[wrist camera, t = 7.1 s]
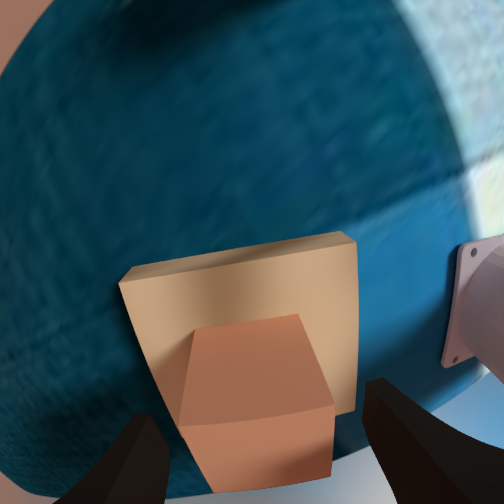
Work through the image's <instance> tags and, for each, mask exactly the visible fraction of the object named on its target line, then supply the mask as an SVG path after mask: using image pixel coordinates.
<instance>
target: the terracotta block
mask: <svg viewBox="0 0 504 504" xmlns="http://www.w3.org/2000/svg"><path fill="white" fill-rule="evenodd" d="M334 425H335V402H334V399H333V397H332V394H331V392H330V389H329V387H328V384H327V382H326V380H325V377H324V375H323V372H322V370H321V367H320V365H319V362H318V360H317V358H316V355H315V353H314V350H313V348H312V345H311V343H310V341H309V338H308V336H307V333H306V331H305V329H304V326H303V324H302V321H301V319H300V317H299V314H298V313H297V314H291V315H286V316H280V317H274V318H268V319H262V320H256V321H250V322H243V323H236V324H229V325H222V326H215V327H208V328H200V329H195V333H194V338H193V343H192V349H191V354H190V359H189V365H188V370H187V376H186V382H185V387H184V393H183V399H182V405H181V411H180V417H179V424H178V427H179V429H180V431H181V433H182V435H183V437H184V439H185V441H186V443H187V445H188V447H189V449H190V451H191V453H192V455H193V457H194V459H195V460H196V462H197V464H198V466H199V468H200V470H201V471H202V473H203V475H204V477H205V478H206V480H207V482H208V484H209V485H210V487H211V489H212V490H213V492H214V493H220V492H235V491H247V490H257V489H265V488H272V487H278V486H286V485H292V484H297V483H302V482H307V481H312V480H317V479H321V478H326V477H330V476H331V467H332V456H333V442H334Z"/></svg>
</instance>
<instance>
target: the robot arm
mask: <svg viewBox="0 0 504 504" xmlns="http://www.w3.org/2000/svg"><path fill="white" fill-rule="evenodd" d="M472 249H473V250H472ZM471 251H472V253H471ZM473 356H476V357H477V358H478V359H479V360H480V361H481V362H482V363H483V364H484V365H485V366H486V367H487V368H488V369H489V370H490V371H491V372H492V373H493V374H494V375H495V376H496V377H497V378H498V379H499V380H500V381H501V382H502V383H503V384H504V234H502V235H497V236H493V237H489V238H485V239H480V240H476V241H471V242H467V243H464V244H462V245H461V246H460V247H459V249H458V253H457V265H456V276H455V285H454V293H453V300H452V307H451V314H450V320H449V325H448V331H447V336H446V341H445V346H444V350H443V355H442V359H441V365H442V366H443V367H444V368H449V367H451V366H453V365H456V364H458V363H460V362H462V361H465V360H467V359H469V358H471V357H473ZM362 423H363V426H364V429H365V432H366V435H367V438H368V441H369V443H370V446H371V448H372V450H373V452H374V454H375V456H376V458H377V460H378V462H379V464H380V466H381V468H382V470H383V472H384V474H385V476H386V478H387V480H388V482H389V485H390V486H391V489H392V491H393V493H394V496H395V498H396V501H397V504H504V449H501V448H498V447H495V446H492V445H489V444H486V443H484V442H481V441H479V440H476V439H474V438H472V437H470V436H468V435H465V434H464V433H462V432H460V431H458V430H456V429H454V428H453V427H451V426H449V425H448V424H446V423H444V422H443V421H441V420H439V419H438V418H436V417H435V416H433V415H432V414H431V413H429V412H428V411H426V410H425V409H423V408H422V407H421V406H419V405H418V404H416V403H415V402H414V401H412V400H411V399H410V398H409V397H407V396H406V395H405V394H403V393H402V392H401V391H400V390H398V389H397V388H396V387H395V386H393V385H392V384H391V383H390V382H388V381H387V380H386V379H384V378H379V379H376V380H373V381H369V382H366V390H365V399H364V408H363V415H362ZM169 467H170V448H169V446H168V444H167V442H166V441H165V439H164V437H163V435H162V434H161V432H160V430H159V428H158V426H157V424H156V423H155V421H154V419H153V417H152V415H151V414H135V415H134V416H133V417H132V419H131V420H130V421H129V422H128V424H127V425H126V426H125V428H124V429H123V430H122V431H121V433H120V434H119V435H118V437H117V438H116V439H115V441H114V442H113V443H112V444H111V446H110V447H109V448H108V449H107V451H106V452H105V453H104V454H103V456H102V457H101V458H100V459H99V460H98V462H97V463H96V464H95V465H94V466H93V467H92V468H91V469H90V471H89V472H88V473H87V474H86V475H85V476H84V477H83V478H82V479H81V480H80V481H79V482H78V483H77V484H76V485H75V486H74V487H73V488H72V489H70V490H69V491H68V492H67V493H66V494H65V495H63V496H62V497H61V498H60V499H58V500H57V501H56V502H54V503H53V504H164V502H165V496H166V490H167V484H168V478H169Z"/></svg>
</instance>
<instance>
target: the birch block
mask: <svg viewBox="0 0 504 504" xmlns="http://www.w3.org/2000/svg"><path fill="white" fill-rule="evenodd" d="M119 286H120V289H121V293H122V296H123V299H124V302H125V305H126V308H127V310H128V313H129V316H130V319H131V322H132V325H133V327H134V330H135V333H136V335H137V338H138V341H139V343H140V346H141V348H142V351H143V353H144V356H145V358H146V361H147V363H148V366H149V368H150V370H151V373H152V375H153V377H154V380H155V382H156V384H157V386H158V389H159V391H160V393H161V395H162V397H163V400H164V402H165V404H166V406H167V408H168V410H169V412H170V414H171V416H172V418H173V420H174V422H175V424H176V426H177V428H178V430H179V432H180V434H181V436H182V438H184V437H183V435H182V433H181V431H180V429H179V427H178V424H179V417H180V411H181V405H182V399H183V393H184V387H185V382H186V376H187V370H188V365H189V359H190V354H191V349H192V343H193V338H194V333H195V329H200V328H208V327H215V326H222V325H229V324H236V323H243V322H250V321H256V320H262V319H268V318H274V317H280V316H286V315H291V314H297V313H298V314H299V317H300V319H301V321H302V324H303V326H304V329H305V331H306V333H307V336H308V338H309V341H310V343H311V345H312V348H313V350H314V353H315V355H316V358H317V360H318V362H319V365H320V367H321V370H322V372H323V375H324V377H325V380H326V382H327V384H328V387H329V389H330V392H331V394H332V397H333V399H334V402H335V416H336V415H340V414H344V413H348V412H351V411H355V400H356V385H357V366H358V329H359V302H358V265H357V245H356V242H355V241H354V240H352V239H351V238H349V237H348V236H347V235H345V234H344V233H342V232H341V231H337V232H331V233H325V234H319V235H314V236H308V237H302V238H296V239H290V240H284V241H278V242H272V243H266V244H261V245H255V246H249V247H243V248H237V249H231V250H226V251H220V252H214V253H208V254H203V255H197V256H191V257H185V258H180V259H174V260H168V261H163V262H157V263H151V264H146V265H140V266H134V267H132V268H131V269H130V270H129V271H128V273H127V274H126V275H125V276H124V277H123V278H122V280H121V281H120V282H119Z"/></svg>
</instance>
